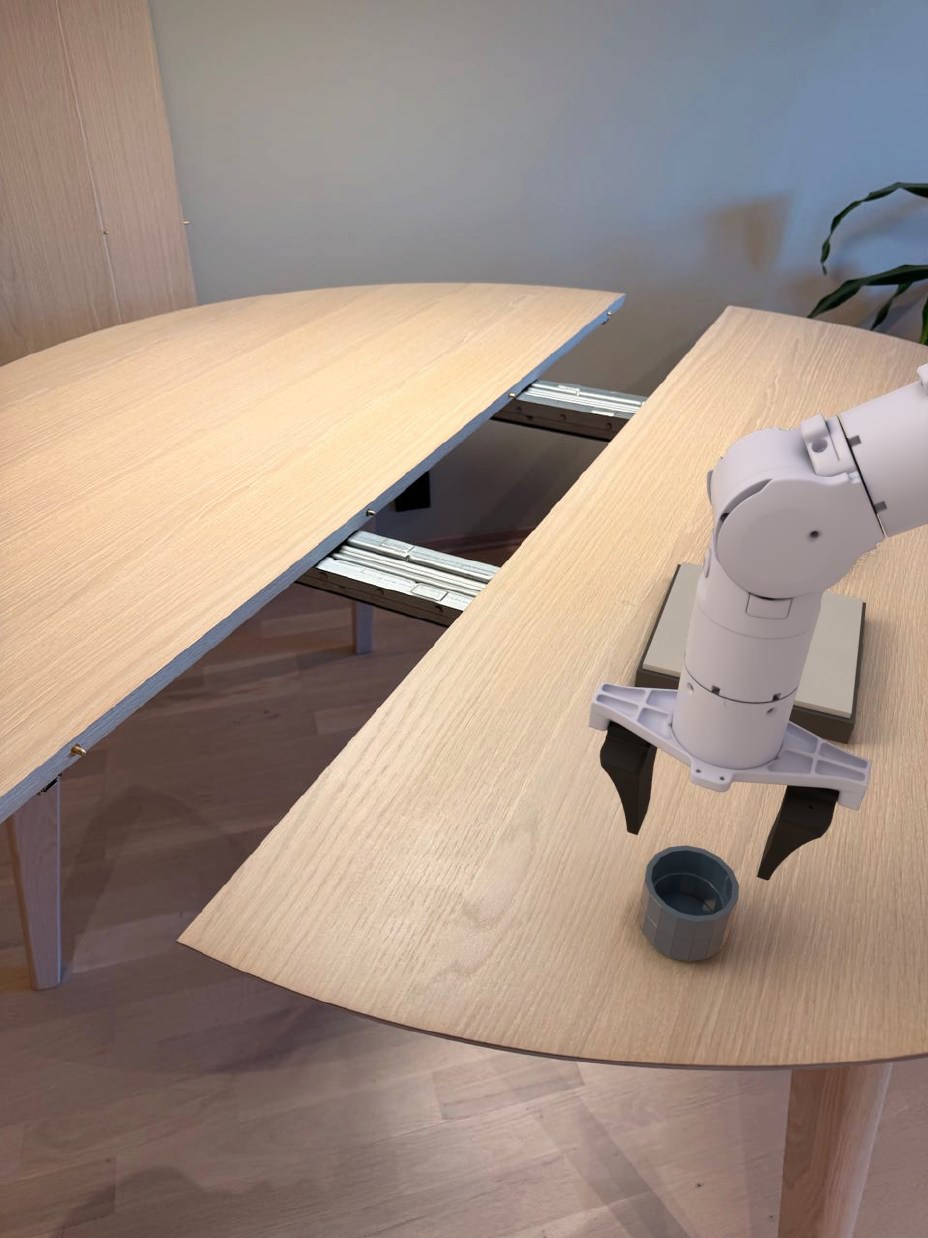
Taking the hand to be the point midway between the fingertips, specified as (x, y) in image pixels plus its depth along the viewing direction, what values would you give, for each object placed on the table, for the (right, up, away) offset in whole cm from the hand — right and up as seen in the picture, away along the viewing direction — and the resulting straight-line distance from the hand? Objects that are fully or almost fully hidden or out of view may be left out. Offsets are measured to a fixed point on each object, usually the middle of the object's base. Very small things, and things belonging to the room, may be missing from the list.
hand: (699, 843), depth 56 cm
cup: (0, -6, +5) cm, 8 cm away
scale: (+11, +10, +27) cm, 31 cm away
